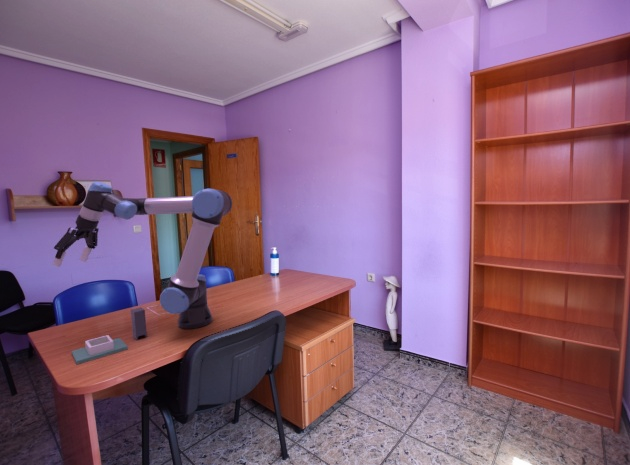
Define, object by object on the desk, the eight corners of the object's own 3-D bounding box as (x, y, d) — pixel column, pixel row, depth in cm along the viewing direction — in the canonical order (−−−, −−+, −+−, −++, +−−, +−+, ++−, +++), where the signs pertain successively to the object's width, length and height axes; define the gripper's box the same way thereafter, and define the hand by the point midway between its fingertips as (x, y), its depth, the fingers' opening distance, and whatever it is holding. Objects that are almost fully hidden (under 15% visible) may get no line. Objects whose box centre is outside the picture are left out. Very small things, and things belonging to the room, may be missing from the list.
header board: (119, 340, 131) (119, 330, 131) (127, 349, 123) (126, 338, 122) (72, 354, 120) (70, 343, 120) (76, 364, 112) (75, 353, 111)
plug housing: (143, 334, 137) (141, 307, 136) (147, 337, 134) (144, 309, 133) (133, 337, 135) (130, 309, 134) (136, 340, 131) (134, 312, 130)
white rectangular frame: (158, 314, 163) (146, 307, 175) (158, 315, 163) (146, 308, 175) (179, 309, 170) (166, 302, 183) (179, 310, 170) (166, 303, 183)
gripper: (102, 213, 145) (85, 255, 146) (55, 213, 120) (35, 263, 121) (117, 220, 145) (99, 262, 146) (72, 222, 120) (52, 271, 121)
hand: (70, 262), depth 134 cm, fingers open, 13 cm apart
